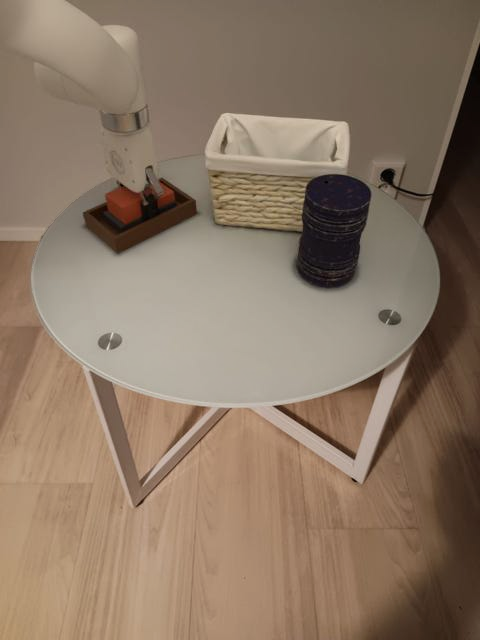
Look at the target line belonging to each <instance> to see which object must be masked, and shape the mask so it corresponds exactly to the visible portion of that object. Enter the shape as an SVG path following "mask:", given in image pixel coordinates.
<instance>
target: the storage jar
mask: <svg viewBox="0 0 480 640" xmlns="http://www.w3.org/2000/svg"><path fill="white" fill-rule="evenodd" d="M372 194H373V193H372V190H371V188H370V187H369V186H368V184H367V183H365V182H364V181H362V180H361V179H360V178H356V177H354V176H351V175H348V174H347V175H342V174H327V175H322V176H318V177H316V178H314V179H312V180H311V181H309V183H308V184H307V186H306V189H305V198H304V202H303V213H302V223H303V230H302V232H301V235H300V238H299V242H298V249H297V263H296V265H297V266H296V270H297V273H298V275H299V277H300V278H302V280H303V281H304V282H306V283H308V284H309V285H311V286H314V287H317V288H321V289H337V288H341V287H343V286H346V285H347V284H349V283H350V282H351V281H352V280H353V279H354V277H355V274H356V268H357V265H358V262H359V259H360V253H361V238H362V234H363V232H364V230H365V228H366V226H367V220H368V217H369V213H370V204H371V200H372V197H373V196H372Z"/></svg>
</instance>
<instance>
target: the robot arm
mask: <svg viewBox="0 0 480 640" xmlns="http://www.w3.org/2000/svg"><path fill="white" fill-rule="evenodd" d="M0 49H1V50H3V51H5V52H7V53H9V54H13V55H16V56H18V57H20V58H23V59H26V60H29V61H31V62H34V64H33V73H34V76H35V79H36V82H37V84H38V85H39V87H40V88H41V89H42V90H43V91H44V92H45V93H46V94H48V95H50V96H52V97H53V98H55V99H59V100H60V101H65V102H69V103H72V104H76V105H79V106H80V105H81V106H85V107H87V108H91V109H95V110H98V112H99V116H100V121H101V123H100V125H101V126H100V127H101V128H100V129H101V142H102V149H103V155H104V161H105V165H106V171H107V172H108V174H109V175H110V176H111V177H112V178H113V179H114V180H115V183H116V186H117V187H118V188H120V187H122V186H126V187H127V188H129V189H130V190H132V191H133V192H136V193H139V195H140V198H141V200H142V203H141V204H140V206H141V212H142V218H143V222H145V221H147V220H150V219H152V218H154V217H156V216H158V215H159V210H158V202H157V200H159V198H160V196H162V195H163V194H164V191H163V189H162V187H161V185H160V183H159V178H160V171H159V163H158V159H157V153H156V148H155V143H154V139H153V135H152V132H151V128H150V125H151V122H150V121H151V120H150V113H149V107H148V99H147V91H146V83H145V76H144V68H143V67H144V66H143V61H142V54H141V53H142V51H141V45H140V40H139V36H138V34H137V33H136V31H135V30H134V29H132V28H131V27H128V26H125V25H122V24H121V25H120V24H106V25H101V24H99V23H98V21H96V20H95V19H93V18H92V17H91V16H89V15H88V14H87V13H85V12H84V11H82V10H81V9H79V8H78V7H76V6H74V5H73V4H72V3H70V2H69V1H67V0H0ZM148 188H150V191H151V194H149V195H148V196H147V197H146V195H145V192H144V190H146V189H148Z"/></svg>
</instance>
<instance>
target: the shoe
mask: <svg viewBox="0 0 480 640" xmlns="http://www.w3.org/2000/svg"><path fill="white" fill-rule="evenodd" d="M159 183H160V182H159ZM160 185H161V187H162V189H163V191H164V194H163V195H162V196H160V198H159V200H157V202H158V210H159V215H160V214H162V213H164V212H166V211H168V210H170V209H172V208H174V207H176V206H177V204H176V201H175V196H174V192H173V191H172V190H171V189H169V188H168V187H166V186H165V185H163V184H162V183H160ZM144 192H145V195H146V197H147V196H148V195H149V194H151V191H150V188H148V189H146V190H144ZM104 198H105V202H107V207H108V211H105V212H103V215H104V219H105V220H106V221H107V222H108V223H110V224H111V225H112V226H113V227H114V228H116V229H117V230H118V231H119V232H121V233H123V232H125V231H127V230H129V229H131V228H133V227H135V226H137V225H139V224H141V223H143V218H142V212H141V206H140V204H141V203H142V200H141V198H140V195H139V193H136V192H133V191H132V190H130V189H129V188H127V187H126V186H122V187H121V186H120V187H118V188H115V189H113V190H111V191H109V192H106V193H104Z"/></svg>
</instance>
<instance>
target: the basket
mask: <svg viewBox="0 0 480 640" xmlns="http://www.w3.org/2000/svg"><path fill="white" fill-rule="evenodd" d="M350 150H351V135H350V125H349V123H348V122H347V121H342V120H341V121H340V120H339V121H338V120H327V119H318V118H301V117H300V118H299V117H283V116H281V117H280V116H269V115H259V114H258V115H257V114H246V113H232V112H225V113H222V114H220V116H219V118H218V119H217V120H216V123H215V125H214V127H213V130H212V131H211V135H210V136H209V139H208V141H207V143H206V145H205V148H204V154H203V155H204V167H205V169H206V170H207V171H208V179H209V187H210V190H209V191H210V192H209V193H210V197H211V205H212V207H213V216H214V222H215V224H218V225H224V226H230V227H233V226H235V227H236V226H237V227H242V228H243V227H244V228H245V227H248V228H254V229H258V228H259V229H267V230H272V229H273V230H282V231H295V232H300V233H302V230H303V223H302V213H303V202H304V198H305V189H306V186H307V184H308V183H309V181H311V180H312V179H314V178H316V177H318V176H322V175H327V174H342V175H347V176H348V166H349V159H350Z"/></svg>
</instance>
